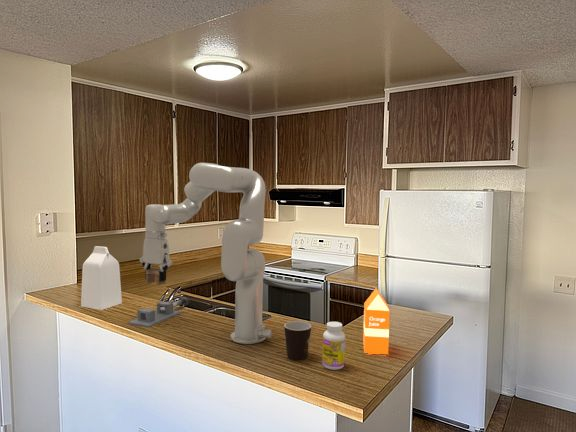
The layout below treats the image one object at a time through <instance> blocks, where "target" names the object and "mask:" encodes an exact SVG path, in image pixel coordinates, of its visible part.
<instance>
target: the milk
mask: <svg viewBox="0 0 576 432" xmlns="http://www.w3.org/2000/svg"><path fill="white" fill-rule="evenodd" d="M108 249H109V248H108V247H107V246H99V245H98V246H97V245H95V246H94V247H93V250H92V253H91V254H90V255H89V256H88V257H87V258H86V260H85V261H84V262H83V264H82V271H81V274H82V275H81V276H82V277H81V297H80V307H83V308H89V309H94V310H99V311H103V310H106V309H109V308H111V307H115V306H118V305H121V304H123V301H122V300H123V299H122V286H121V283H122V282H121V271H120V263H119V261H118V260H117V259H116V258H115V257H114V256H113V255H112V254H110V252H109V250H108Z"/></svg>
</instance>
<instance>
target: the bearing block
mask: <svg viewBox="0 0 576 432" xmlns="http://www.w3.org/2000/svg"><path fill="white" fill-rule="evenodd" d="M163 306H166V311H164V312H161V311H160V308H161V307H163ZM182 312H183V311H181V310H175V309H174V308H173V302H169V301H158V302H157V303H156V310H155V309H150V308H146V307H145V308H144V307H143V308H140V309H137V317H136V318H134V319H133V320H130V321H127V324H128V325H133V326H139V327H144V328H150V327H153V326H155V325H156V324H157V325H158V324H159V323H162V322H164V321H166V320H168V319H172V318H174V317H175V316H178V315H180V314H182Z"/></svg>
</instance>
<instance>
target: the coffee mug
mask: <svg viewBox="0 0 576 432" xmlns="http://www.w3.org/2000/svg"><path fill="white" fill-rule="evenodd" d="M283 327H284V336H285V337H284V339H285V348H286V358H287V359H289V360H291V361H295V362H296V361H297V362H300V361H305V360H306V359H307V358H308V355H309V354H308V353H309V346H310V341H311V340H310V338H311V331H312V325H311V323H309V322H306V321H303V320H302V321H301V320H296V321H295V320H292V321H287V322H286V323H284V325H283Z"/></svg>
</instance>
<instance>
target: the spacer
mask: <svg viewBox="0 0 576 432" xmlns="http://www.w3.org/2000/svg"><path fill="white" fill-rule="evenodd" d="M160 271H161V270H160V268H154V267H151V269H148V270H146V279H145V284H151V283H155V281H156V285H157V286H161V285H164V284H166V280H165V281H162V282H160ZM155 276H156V277H155ZM155 279H156V280H155Z"/></svg>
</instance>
